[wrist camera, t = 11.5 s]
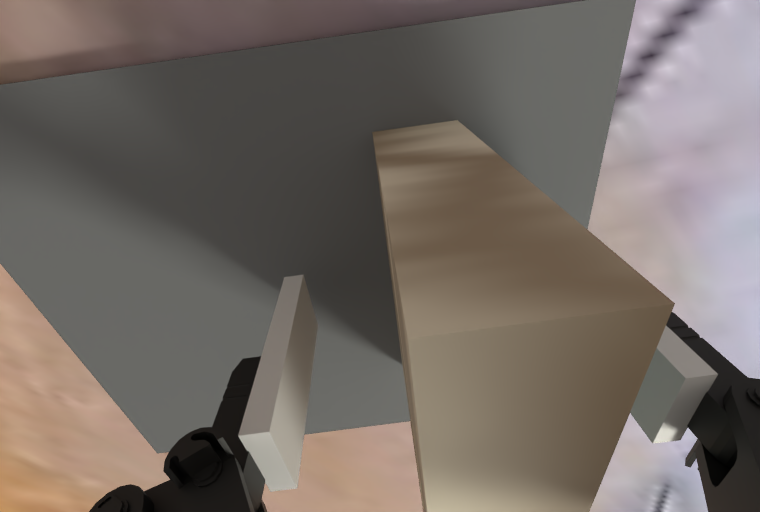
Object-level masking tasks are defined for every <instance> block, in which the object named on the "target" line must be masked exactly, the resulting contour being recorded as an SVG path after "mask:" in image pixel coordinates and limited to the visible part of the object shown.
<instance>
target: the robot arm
mask: <svg viewBox="0 0 760 512" xmlns="http://www.w3.org/2000/svg"><path fill="white" fill-rule="evenodd" d="M317 330H318V323H317V320H316V317H315V313H314V310H313V306H312V303H311V299H310V296H309V292H308V289H307V285H306V282H305V279H304V275H296V276H289V277H284V280H283V284H282V287H281V290H280V294H279V297H278V301H277V304H276V308H275V311H274V314H273V318H272V321H271V325H270V328H269V332H268V335H267V338H266V342H265V345H264V349H263V352H262V356H259V357H251V358H244V359H242V360H241V361H240V363H239V364H238V365H237V366H236V368H235V369H234V370H233V371H232V373H231V376H230V379H229V382H228V384H227V389H226V390H225V393H224V395H223V401H221V404H220V406H219V409H218V412H217V415H216V417H215V420H214V423H213V426H212V427H203V428H199V429H196V430H194V431H191V432H189V433H188V434H186V435H185V436H184V437H182V438H181V439H179V440H178V442H177V443H176V444H175V445H174V446H173V447H172V448H171V449H170V451H169V453H168V455H167V457H166V459H165V463H164V472H165V473H166V475H167V476H168V477H169V478H170V479H171V480H169V481H167V482H164V483H162V484H160V485H158V486H155V487H153V488H151V489H149V490H146V491H143V490H142V489H141V488H140V487H138V486H135V485H131V484H130V485H125V486H120V487H118V488H116V489H115V490H113V491H111V492H109V493H107V494H106V495H105V496H104V497H103V498H101V499H100V500H99V501H98V502H97V503H96V504H95V505H94V506H93V508H92V509H91V510H90V511H89V512H267V510H266V507H265V504H264V503H263V501H262V494H263V489H264V484H265V483H266V485H267V486H268V488H269V490H270V492H272V491H280V490H288V489H296V488H297V487H298V479H299V471H300V463H301V455H302V447H303V440H304V432H305V424H306V416H307V408H308V400H309V393H310V385H311V377H312V369H313V361H314V353H315V346H316V338H317ZM630 413H631V414H632V416H633V417H634V419H635V420H636V421H637V423H638V424H639V425H640V427H641V428H642V430H643V431H644V432H645V434H646V435H647V436H648V438H649V439H650V441H651V442H652V443H661V442H669V441H677V440H681V438H682V436H683V435H684V433H685V431H686V429H687V428H689V429H690V430H691V431H692V432H693V434H694V435H695V436H696V437H697V438H698V439H697V441H696V443H695V444H694V446H693V448H692V449H691V451H690V452H689V454H688V456H687V457H686V462H685V466H688V467H691V466H692V464H693V462H694V461H695V459H696V458H697V463H698V470H699V472H700V476H701V481H702V485H703V490H704V494H705V499H706V503H707V508H708V512H760V379H754V378H748V377H747V376H745V375H744V374H743V373H742V372H741V371H739V370H738V369H737V368H736V367H735V366H734V365H733V364H732V363H730V362H729V361H728V360H727V359H726V358H725V357H724V356H722V355H721V354H720V353H719V352H718V351H717V350H716V349H714V348H713V347H712V346H711V345H710V344H709V343H708V342H706V341H705V340H704V339H703V338H700V337H699V335H698V334H697V333H696V332H695V331H694V330H693V329H692V328H688V325H687V324H686V323H685V322H684V321H682V320H681V319H680V318H679V317H678V316H677V315H676V314H674V313H673V312H671V314H670V317H669V319H668V321H667V324H666V326H665V329H664V331H663V334H662V336H661V338H660V341H659V343H658V346H657V348H656V351H655V353H654V355H653V358H652V360H651V363H650V365H649V368H648V370H647V372H646V375H645V377H644V380H643V382H642V385H641V387H640V389H639V392H638V394H637V397H636V399H635V402H634V404H633V406H632V409H631V411H630Z"/></svg>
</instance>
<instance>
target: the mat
mask: <svg viewBox="0 0 760 512" xmlns="http://www.w3.org/2000/svg"><path fill="white" fill-rule="evenodd" d="M635 3H636V0H584V1H577V2H570V3H563V4H556V5H549V6H542V7H535V8H528V9H521V10H514V11H508V12H501V13H494V14H487V15H480V16H473V17H466V18H459V19H452V20H445V21H438V22H431V23H425V24H418V25H411V26H404V27H397V28H390V29H383V30H376V31H369V32H362V33H355V34H348V35H341V36H335V37H328V38H321V39H314V40H307V41H300V42H293V43H286V44H279V45H272V46H265V47H258V48H251V49H245V50H238V51H231V52H224V53H217V54H210V55H203V56H196V57H189V58H182V59H175V60H168V61H161V62H155V63H148V64H141V65H134V66H127V67H120V68H113V69H106V70H99V71H92V72H85V73H78V74H72V75H65V76H58V77H51V78H44V79H37V80H30V81H23V82H16V83H9V84H2V85H0V264H1V265H2V266H3V267H4V268H5V270H6V271H7V272H8V273H9V274H10V276H11V277H12V278H13V279H14V281H15V282H16V283H17V284H18V285H19V287H20V288H21V289H22V290H23V291H24V293H25V294H26V295H27V296H28V297H29V299H30V300H31V301H32V302H33V304H34V305H35V306H36V307H37V308H38V310H39V311H40V312H41V313H42V314H43V316H44V317H45V318H46V319H47V320H48V322H49V323H50V324H51V325H52V326H53V328H54V329H55V330H56V331H57V333H58V334H59V335H60V336H61V337H62V339H63V340H64V341H65V342H66V343H67V345H68V346H69V347H70V348H71V349H72V351H73V352H74V353H75V354H76V355H77V357H78V358H79V359H80V360H81V362H82V363H83V364H84V365H85V366H86V368H87V369H88V370H89V371H90V372H91V374H92V375H93V376H94V377H95V378H96V380H97V381H98V382H99V383H100V384H101V386H102V387H103V388H104V389H105V391H106V392H107V393H108V394H109V395H110V397H111V398H112V399H113V400H114V401H115V403H116V404H117V405H118V406H119V407H120V409H121V410H122V411H123V412H124V414H125V415H126V416H127V417H128V418H129V420H130V421H131V422H132V423H133V424H134V426H135V427H136V428H137V429H138V430H139V432H140V433H141V434H142V435H143V436H144V438H145V439H146V440H147V441H148V443H149V444H150V445H151V446H152V447H153V449H154V450H155V451H156V452H157V453H164V452H169V451H170V449H171V448H172V447H173V446H174V445H175V444H176V443H177V442H178V440H179V439H181V438H182V437H184V436H185V435H186V434H188V433H189V432H191V431H194V430H196V429H199V428H203V427H212V426H213V423H214V420H215V417H216V415H217V412H218V409H219V406H220V404H221V401H223V395H224V393H225V390H226V389H227V384H228V382H229V379H230V376H231V373H232V371H233V370H234V369H235V368H236V366H237V365H238V364H239V363H240V361H241V360H242V359H244V358H251V357H259V356H262V352H263V349H264V345H265V342H266V338H267V335H268V332H269V328H270V325H271V321H272V318H273V314H274V311H275V308H276V304H277V301H278V297H279V294H280V290H281V287H282V284H283V280H284V277H289V276H296V275H304V279H305V282H306V285H307V289H308V292H309V296H310V299H311V303H312V306H313V310H314V313H315V317H316V320H317V323H318V330H317V338H316V346H315V353H314V361H313V369H312V377H311V385H310V393H309V400H308V408H307V416H306V424H305V432H304V435H305V434H313V433H320V432H328V431H336V430H344V429H352V428H359V427H367V426H375V425H383V424H391V423H398V422H406V421H410V414H409V407H408V400H407V393H406V386H405V379H404V372H403V365H402V358H401V350H400V342H399V334H398V327H397V319H396V311H395V304H394V296H393V288H392V280H391V273H390V265H389V257H388V250H387V242H386V234H385V227H384V219H383V211H382V203H381V196H380V188H379V180H378V173H377V165H376V157H375V149H374V142H373V134H372V132H376V131H383V130H390V129H397V128H405V127H412V126H419V125H426V124H433V123H440V122H447V121H454V120H458V121H459V122H460V123H461V124H463V125H464V126H465V127H466V128H467V129H469V130H470V131H471V132H472V133H473V134H475V135H476V136H477V137H478V138H479V139H480V140H482V141H483V142H484V143H485V144H486V145H488V146H489V147H490V148H491V149H492V150H493V151H495V152H496V153H497V154H498V155H499V156H501V157H502V158H503V159H504V160H505V161H507V162H508V163H509V164H510V165H511V166H512V167H514V168H515V169H516V170H517V171H518V172H520V173H521V174H522V175H523V176H524V177H525V178H527V179H528V180H529V181H530V182H531V183H533V184H534V185H535V186H536V187H537V188H538V189H540V190H541V191H542V192H543V193H544V194H546V195H547V196H548V197H549V198H550V199H552V200H553V201H554V202H555V203H556V204H557V205H559V206H560V207H561V208H562V209H563V210H565V211H566V212H567V213H568V214H569V215H570V216H572V217H573V218H574V219H575V220H576V221H578V222H579V223H580V224H581V225H582V226H584V227H585V228H586V229H588V224H589V219H590V214H591V210H592V205H593V200H594V196H595V191H596V186H597V181H598V177H599V172H600V167H601V163H602V158H603V153H604V148H605V144H606V139H607V134H608V130H609V125H610V120H611V116H612V111H613V106H614V101H615V97H616V92H617V87H618V83H619V78H620V73H621V68H622V64H623V59H624V54H625V50H626V45H627V40H628V36H629V31H630V26H631V21H632V17H633V12H634V7H635Z"/></svg>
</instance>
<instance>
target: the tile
mask: <svg viewBox="0 0 760 512" xmlns="http://www.w3.org/2000/svg"><path fill="white" fill-rule="evenodd" d="M372 134H373V142H374V149H375V157H376V165H377V173H378V180H379V188H380V196H381V203H382V211H383V219H384V227H385V234H386V242H387V250H388V257H389V265H390V273H391V280H392V288H393V296H394V304H395V311H396V319H397V327H398V334H399V342H400V350H401V358H402V365H403V372H404V379H405V386H406V393H407V400H408V407H409V414H410V421H411V428H412V435H413V442H414V449H415V456H416V463H417V471H418V478H419V485H420V492H421V499H422V506H423V512H589V511H590V508H591V506H592V503H593V501H594V499H595V496H596V494H597V491H598V489H599V486H600V484H601V482H602V479H603V477H604V474H605V472H606V469H607V467H608V465H609V462H610V460H611V457H612V455H613V452H614V450H615V448H616V445H617V443H618V440H619V438H620V436H621V433H622V431H623V428H624V426H625V423H626V421H627V419H628V416H629V414H630V411H631V409H632V406H633V404H634V402H635V399H636V397H637V394H638V392H639V389H640V387H641V385H642V382H643V380H644V377H645V375H646V372H647V370H648V368H649V365H650V363H651V360H652V358H653V355H654V353H655V351H656V348H657V346H658V343H659V341H660V338H661V336H662V334H663V331H664V329H665V326H666V324H667V321H668V319H669V317H670V314H671V312H672V309H673V307H674V304H675V303H674V302H672V301H671V300H670V299H669V298H668V297H666V296H665V295H664V294H663V293H662V292H661V291H659V290H658V289H657V288H656V287H655V286H653V285H652V284H651V283H650V282H649V281H648V280H646V279H645V278H644V277H643V276H642V275H640V274H639V273H638V272H637V271H636V270H634V269H633V268H632V267H631V266H630V265H629V264H627V263H626V262H625V261H624V260H623V259H621V258H620V257H619V256H618V255H617V254H616V253H614V252H613V251H612V250H611V249H610V248H608V247H607V246H606V245H605V244H604V243H602V242H601V241H600V240H599V239H598V238H597V237H595V236H594V235H593V234H592V233H591V232H589V231H588V230H587V229H586V228H585V227H584V226H582V225H581V224H580V223H579V222H578V221H576V220H575V219H574V218H573V217H572V216H570V215H569V214H568V213H567V212H566V211H565V210H563V209H562V208H561V207H560V206H559V205H557V204H556V203H555V202H554V201H553V200H552V199H550V198H549V197H548V196H547V195H546V194H544V193H543V192H542V191H541V190H540V189H538V188H537V187H536V186H535V185H534V184H533V183H531V182H530V181H529V180H528V179H527V178H525V177H524V176H523V175H522V174H521V173H520V172H518V171H517V170H516V169H515V168H514V167H512V166H511V165H510V164H509V163H508V162H507V161H505V160H504V159H503V158H502V157H501V156H499V155H498V154H497V153H496V152H495V151H493V150H492V149H491V148H490V147H489V146H488V145H486V144H485V143H484V142H483V141H482V140H480V139H479V138H478V137H477V136H476V135H475V134H473V133H472V132H471V131H470V130H469V129H467V128H466V127H465V126H464V125H463V124H461V123H460V122H459V121H458V120H454V121H447V122H440V123H433V124H426V125H419V126H412V127H405V128H397V129H390V130H383V131H376V132H372Z"/></svg>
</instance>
